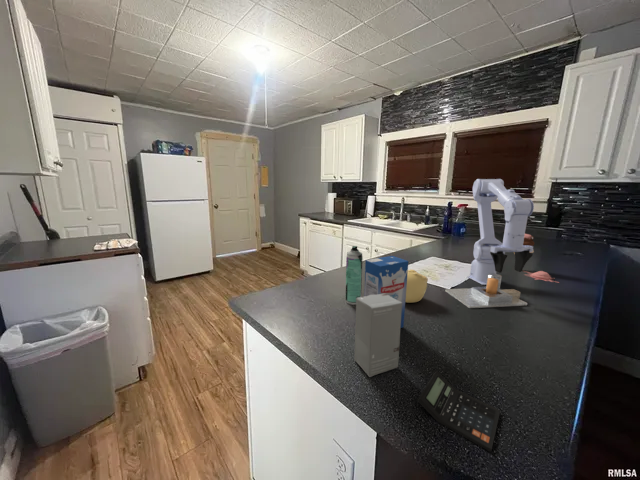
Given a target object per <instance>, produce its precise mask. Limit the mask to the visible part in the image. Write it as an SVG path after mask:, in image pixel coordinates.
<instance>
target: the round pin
mask: <svg viewBox="0 0 640 480" xmlns="http://www.w3.org/2000/svg"><path fill="white" fill-rule="evenodd" d="M498 282H499V280H498V279H495V278H488V280H487V287H486V286H485V287H486V292H487V293H489V294H490V295H491V294H497V288H498Z"/></svg>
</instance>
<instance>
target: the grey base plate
mask: <svg viewBox="0 0 640 480" xmlns="http://www.w3.org/2000/svg"><path fill="white" fill-rule="evenodd" d="M502 277H503V276H502V274H498V273H496V274H494V273H489V274H488V276H487V280H488V278H495V279H498V280H499V282H498V289H500V290H501V283H502ZM485 287H487V283H486V285H485ZM471 291H472V287H471V288H465V287H464V288H446V289H445V292H446V293H447V294H448V295H450V296H451V297H452V298H454V299H456V300H457V301H459V302H460V303H462V304H463V305H464V306H466V307H467V308H469V309H479V308H480V309H481V308H483V309H485V308H499V307H502V308H503V307H519V306H520V307H521V306H527V305H528V302H526V301H524V300H522V299H520V298H519V299H512V303H501V304H487V303H486V302H484V301H482V300H481V299H479V298H478V297H476V296H474V295H473V294H471Z"/></svg>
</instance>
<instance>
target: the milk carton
mask: <svg viewBox="0 0 640 480" xmlns="http://www.w3.org/2000/svg"><path fill="white" fill-rule="evenodd" d="M364 266H365V267H364V289H363V291H364V292H363V293H364V294H363V297H364V296H368V295H378V294H384V293H385V294H387V295H389V296H391V297H392V298H394V299H396V300H398V301H400V302H402V312H401V328H402V329H403V328H404V327H405V326H404V325H405V314H406V313H405V312H406V311H405V310H406V302H405V300H406V287H407V274H408V270H409V260H406V259H403V258H400V257H397V256H394V255H388V256H381V257H377V258H370V259H365V265H364ZM401 328H400V329H401Z"/></svg>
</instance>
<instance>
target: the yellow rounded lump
mask: <svg viewBox="0 0 640 480" xmlns="http://www.w3.org/2000/svg"><path fill="white" fill-rule="evenodd" d="M428 280H429V279H428V277H427V276H425V275H423V274H421V273H419V272H417V270H415V269H411V268H410V269H408V274H407V287H406V300H405V303H408V304H409V303H417V302H419V301H421V300H422V299H423V298H424V296H425V293H426V291H427V288H428Z"/></svg>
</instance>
